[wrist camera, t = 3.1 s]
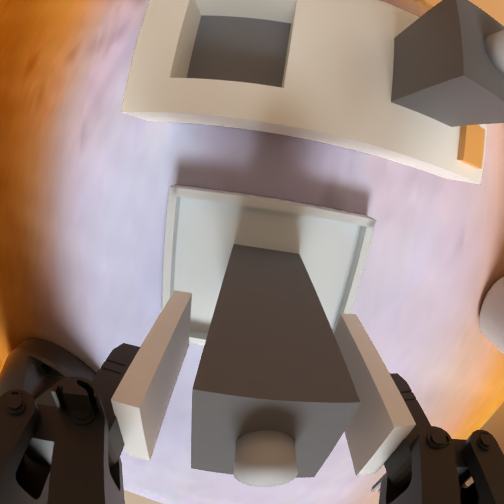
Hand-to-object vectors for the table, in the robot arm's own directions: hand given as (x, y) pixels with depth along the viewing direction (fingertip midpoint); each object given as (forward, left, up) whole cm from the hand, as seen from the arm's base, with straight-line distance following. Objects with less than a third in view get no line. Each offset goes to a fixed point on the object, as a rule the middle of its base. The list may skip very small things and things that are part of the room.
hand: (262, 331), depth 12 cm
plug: (0, 0, -6) cm, 6 cm away
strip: (+9, +10, -7) cm, 15 cm away
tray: (0, 0, -7) cm, 7 cm away
